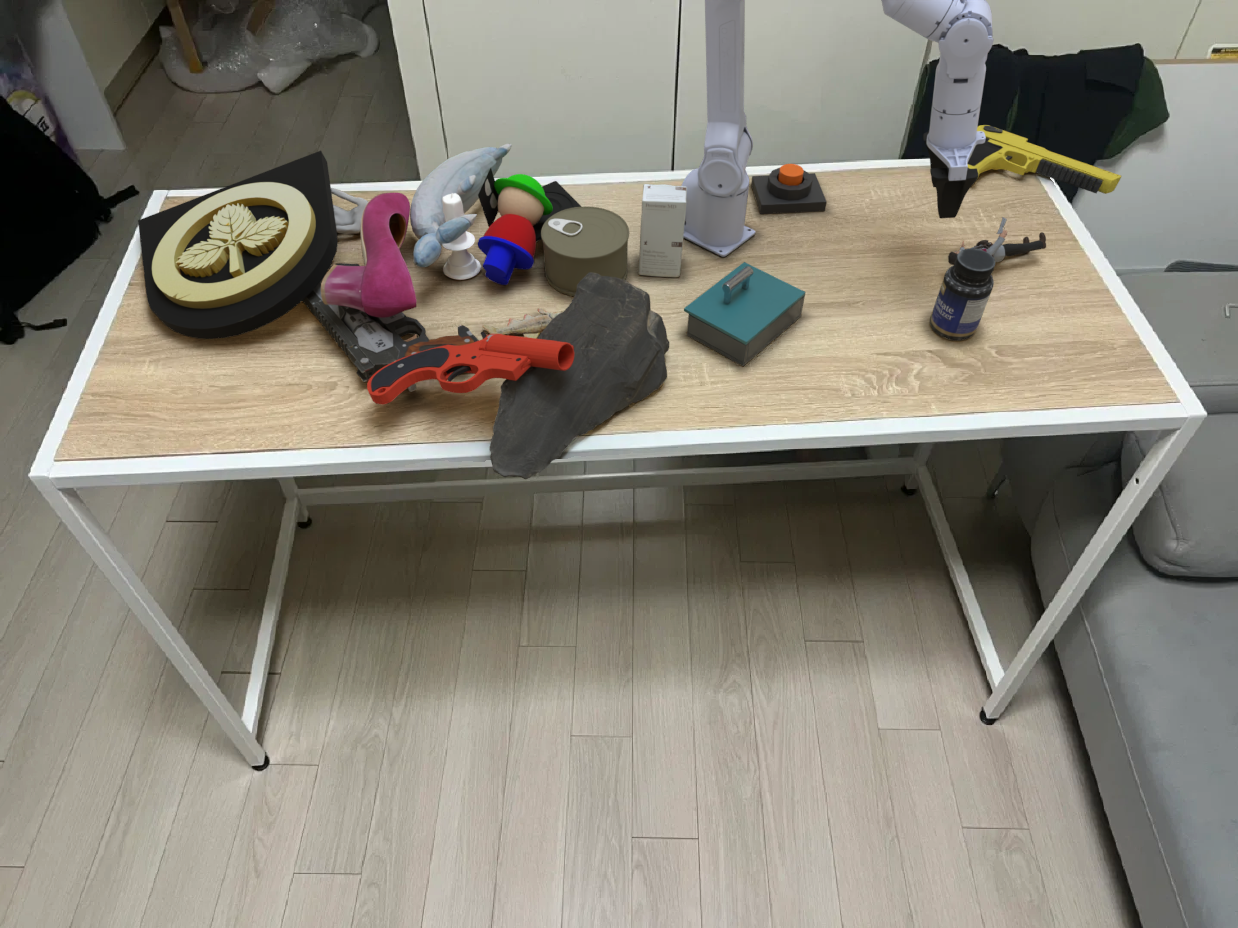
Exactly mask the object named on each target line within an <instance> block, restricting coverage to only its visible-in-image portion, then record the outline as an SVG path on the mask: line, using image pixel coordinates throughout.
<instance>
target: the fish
mask: <svg viewBox="0 0 1238 928" xmlns="http://www.w3.org/2000/svg"><path fill="white" fill-rule="evenodd" d="M537 312H538V313H539V315H535V316H534V315H531V314H530V313H525V314H524V315H523V319H522V320H519V319H517V318H513V317H509V319H508V322H507V326H505V327H494V326H491V325H487V324H482V325H481V327H482V329H484V330H485V331H486V332H487V333H488V334H503V335H509V336H517V335H523V337H527V338H535V339H537V338H538V337H539V336H540V334H541V333H542V331H543V330H544V329H545V328H546V326H547V325H548V324H549V323H550V321H551V320H552V319H553V318H555V317H556V316H557V315H558V314H560V313H562V312H563V311H555V312H554V311H553V312H548V311H547V310H545V309H544V308H542V307H541V308H537Z"/></svg>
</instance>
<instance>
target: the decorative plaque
mask: <svg viewBox="0 0 1238 928" xmlns="http://www.w3.org/2000/svg"><path fill="white" fill-rule="evenodd" d="M331 188H332V187H331V180H330V172H329V166H328V160H327V159H326V157H325V155H324V154H323V151H322V150H319V151H318V150H317V151H316V152H313V153H311V154H308V155H306V156H303V157H300V158H298V159H295V160H293V161H290V162H287V163H284V164H282V165H279V166H277V167H273V168H271V169H268V170H266V171H264V172H261V173H258V174H256V175H253V176H251V177H249V178H245V179H243V180H240V181H237V182H235V183H233V184H230V185H227V186H224V187H221V188H219V189H216V190H214V191H211V192H209V193H206V194H204V195H201V196H198V197H195V198H193V199H190V200H188V201H186V202H181V203H180V204H177V205H174V206H172V207H169V208H166V209H164V210H161V211H158V212H157V213H154V214H151V215H148V216H146V217H143V218H140V219H138V220H137V224H138V233H139V242H140V250H141V260H142V266H143V268H142V269H143V278H144V284H145V285H144V286H145V295H146V301H147V303H148V307H149V308H150V309H151V312H153V313H154V314H155V316H156V317H157V318H158V319H159V320H160V321H161V322H162V324H163V325H164V326H165V327H167V328H168V329H169V330H172V331H173V332H175V333H177V334H180V335H181V336H185V337H189V338H192V339H199V340H217V339H219V340H220V339H226V338H231V337H232V338H233V337H237V336H240V335H244V334H246V333H250V332H252V331H255V330H258V329H260V328H262V327H265V326H267V325H269V324H271V323H272V322H274V321H277V320H278V319H279V318H281V317H283V316H284V315H286V314H287V313H289V312H290V311H292V310H293V309H294V308H296V307H297V306H298V305H299V304H301V303H302V300H304V299H305V298H306V297H307V296H308V295H309V294H310V293H311V292H312V291H313V289H314V288H315V287H316V286H317V285H318V284H319V282H320V281H321V280H322V278H323V277H324V276H325V274H326V273H327V272H328V271H329V270H330V269H329V267H330V266H331V265H333V261H334V259H335V257H336V254H337V251H338V244H339V239H338V232H337V230H336V222H335V215H334V208H333V205H334V202H333V194H332V193H331Z"/></svg>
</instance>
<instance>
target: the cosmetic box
mask: <svg viewBox="0 0 1238 928" xmlns="http://www.w3.org/2000/svg"><path fill="white" fill-rule="evenodd" d="M686 199H687V187H686V186H682V185H672V184H665V183H663V184H652V183H651V184H650V183H643V186H642V198H641V214H640V215H641V216H640V230H639V231H640V233H639V258H638V275H639V276H649V277H663V278H679V277H680V276H681V269H682V268H681V266H682V257H683V245H684V238H683V235H684V224H685V214H686Z"/></svg>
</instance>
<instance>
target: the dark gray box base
mask: <svg viewBox="0 0 1238 928" xmlns="http://www.w3.org/2000/svg"><path fill="white" fill-rule="evenodd" d="M805 298H806V294H805V295H804V296H803V297H802V298H801V299H800V300H799V301H797V302H796V303H795V304H794V305H793V306H791V307H790V308H789V309H788V310H787V311H786V312H784V313H783V314H782V315H781V316H780V317H778V318H777V319H776V320H775V321H774V322H773V323H771V324H770V325H769V326H768V327H767V328H765V329H764V330H763V331H762V332H761V333H760V334H758V335H757V336H756V337H755V338H754V339H753V340H751V341H750V342H749V343H748V344H747V345H745V344H744V343H742V342H740V341H738V340H736V339H734V338H732V337H731V336H729V335H727V334H725V333H723V332H721V331H719V330H718V329H716V328H714V327H712V326H710V325H708V324H706V323H705V322H703V321H701V320H699V319H697V318H695V317H694V316H692V315H690V314H688V317H687V330H686V336H687V337H689V338H691V339H693V340H694V341H697V342H698V343H700V344H702V345H703V346H705V347H707V348H709V349H711V350H712V351H714V352H716V353H717V354H720V355H721V356H723V357H725V358H727V359H729V360H730V361H732V362H734V363H736V364H738V365H740V366H742V367H745V366H746V365H747V364H748V363H749V362H750V361H752V360H753V359H754V358H755V357H756V356H757V355H758V354H760V353H761V352H762V351H763V350H764V349H765V348H767V347H768V346H769V345H770V344H771V343H772V342H774V341H775V340H776V339H777V338H778V337H779V336H780V335H782V334H783V333H784V332H785V331H787V329H789V328H790V327H791V326H792V325H793V324H794V323H795V322H797V321H798V320H799V319H800V318H801V317H802V313H803V308H804V302H805Z"/></svg>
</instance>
